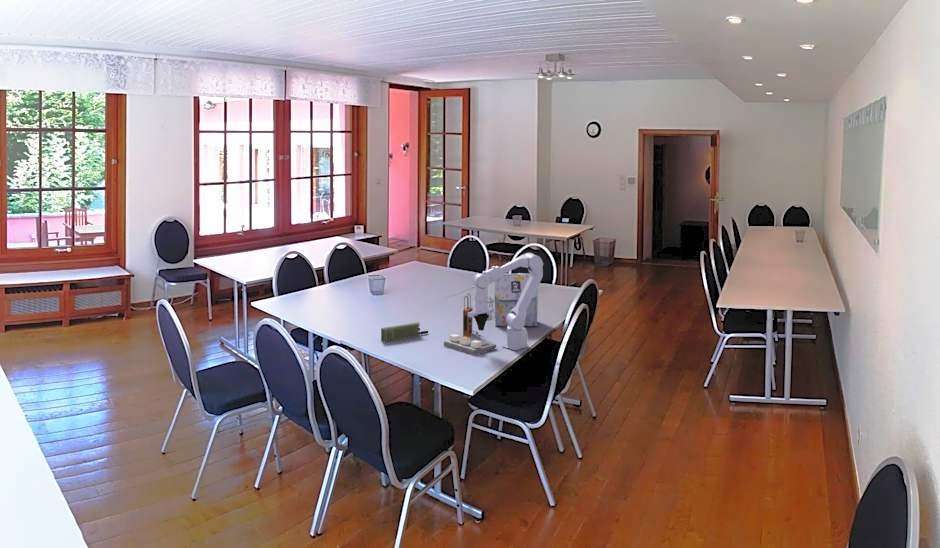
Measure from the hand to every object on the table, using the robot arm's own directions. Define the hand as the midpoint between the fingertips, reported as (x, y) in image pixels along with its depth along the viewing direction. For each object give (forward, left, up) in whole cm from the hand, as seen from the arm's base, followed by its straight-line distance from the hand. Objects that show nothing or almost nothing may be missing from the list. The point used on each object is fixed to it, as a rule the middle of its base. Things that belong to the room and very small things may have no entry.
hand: (481, 330), depth 340 cm
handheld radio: (+12, -39, -10) cm, 42 cm away
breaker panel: (+1, -6, -9) cm, 11 cm away
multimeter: (-15, -19, -10) cm, 26 cm away
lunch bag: (-45, -20, -10) cm, 50 cm away
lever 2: (+4, +1, -7) cm, 8 cm away
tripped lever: (+4, -6, -7) cm, 10 cm away
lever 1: (+4, -13, -7) cm, 16 cm away
